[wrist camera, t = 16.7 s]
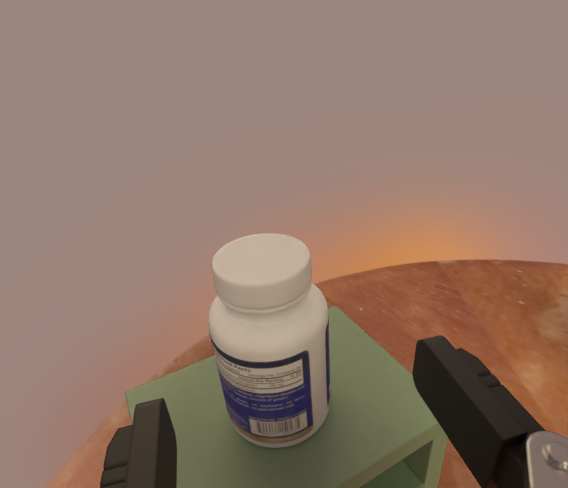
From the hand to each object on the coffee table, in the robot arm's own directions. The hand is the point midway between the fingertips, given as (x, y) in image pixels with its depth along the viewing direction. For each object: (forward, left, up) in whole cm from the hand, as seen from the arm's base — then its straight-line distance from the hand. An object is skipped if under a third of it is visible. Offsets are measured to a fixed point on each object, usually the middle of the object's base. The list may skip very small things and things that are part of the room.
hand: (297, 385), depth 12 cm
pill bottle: (-1, -5, -7) cm, 9 cm away
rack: (-1, -5, -14) cm, 15 cm away
